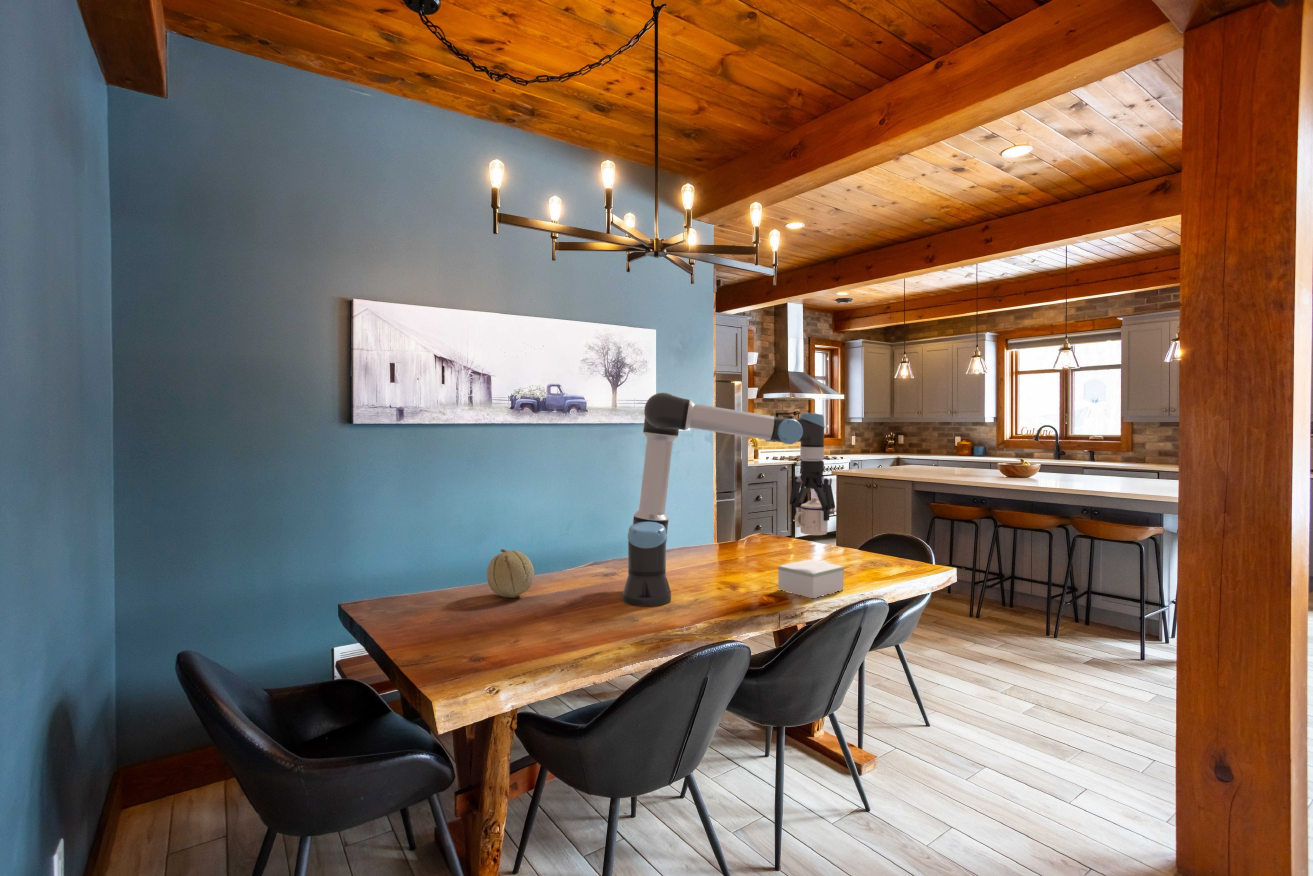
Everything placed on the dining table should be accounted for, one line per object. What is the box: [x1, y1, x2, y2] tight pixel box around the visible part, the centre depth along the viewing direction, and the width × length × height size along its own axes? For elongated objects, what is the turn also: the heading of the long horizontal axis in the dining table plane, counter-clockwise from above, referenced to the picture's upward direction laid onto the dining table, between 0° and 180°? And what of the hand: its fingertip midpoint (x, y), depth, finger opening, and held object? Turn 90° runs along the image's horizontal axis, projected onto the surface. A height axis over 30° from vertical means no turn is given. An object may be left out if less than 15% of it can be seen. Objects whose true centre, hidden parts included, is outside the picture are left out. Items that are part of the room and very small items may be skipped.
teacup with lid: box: [794, 496, 828, 536], centre depth 217 cm, size 12×9×12 cm
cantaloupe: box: [486, 548, 535, 599], centre depth 209 cm, size 15×15×15 cm
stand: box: [777, 558, 845, 599], centre depth 218 cm, size 14×16×8 cm
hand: (811, 528), depth 217 cm, fingers closed on teacup with lid, 9 cm apart
